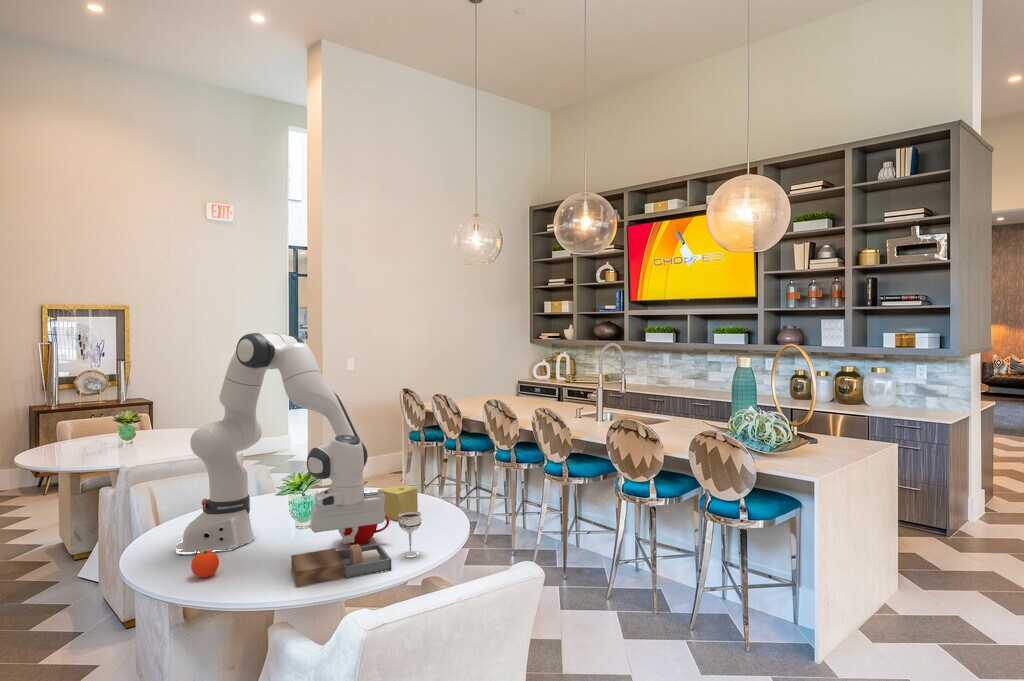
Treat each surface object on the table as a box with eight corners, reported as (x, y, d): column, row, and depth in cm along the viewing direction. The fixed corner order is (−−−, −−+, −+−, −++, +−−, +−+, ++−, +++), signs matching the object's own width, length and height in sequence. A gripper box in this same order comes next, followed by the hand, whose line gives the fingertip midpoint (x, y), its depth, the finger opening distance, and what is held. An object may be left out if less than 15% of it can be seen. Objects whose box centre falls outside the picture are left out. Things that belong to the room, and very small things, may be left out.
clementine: (182, 579, 166) (181, 553, 166) (203, 569, 173) (202, 544, 172) (204, 583, 163) (204, 556, 163) (225, 573, 170) (224, 547, 170)
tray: (346, 578, 165) (345, 567, 165) (336, 560, 178) (336, 550, 177) (391, 569, 170) (391, 559, 170) (379, 553, 183) (379, 543, 183)
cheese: (398, 509, 227) (398, 483, 227) (419, 514, 221) (419, 487, 221) (377, 517, 219) (376, 489, 219) (398, 522, 213) (397, 493, 213)
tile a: (379, 555, 173) (380, 563, 174) (375, 549, 178) (376, 558, 178) (362, 558, 171) (362, 567, 171) (358, 552, 176) (358, 561, 176)
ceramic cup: (381, 551, 185) (380, 518, 185) (329, 548, 188) (328, 515, 188) (397, 536, 198) (396, 506, 197) (348, 534, 201) (348, 503, 201)
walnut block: (297, 586, 160) (296, 571, 160) (291, 569, 172) (291, 555, 172) (343, 578, 165) (343, 563, 165) (335, 561, 177) (335, 548, 177)
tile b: (352, 551, 170) (361, 549, 171) (349, 545, 174) (358, 544, 175) (353, 569, 170) (362, 567, 171) (350, 562, 175) (358, 561, 176)
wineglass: (402, 549, 186) (401, 510, 185) (424, 550, 185) (423, 511, 185) (396, 558, 179) (395, 517, 179) (418, 558, 178) (418, 517, 178)
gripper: (382, 487, 179) (382, 533, 179) (309, 495, 170) (309, 544, 171) (387, 492, 173) (387, 540, 174) (312, 501, 165) (312, 552, 165)
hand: (348, 542), depth 172 cm, fingers closed
